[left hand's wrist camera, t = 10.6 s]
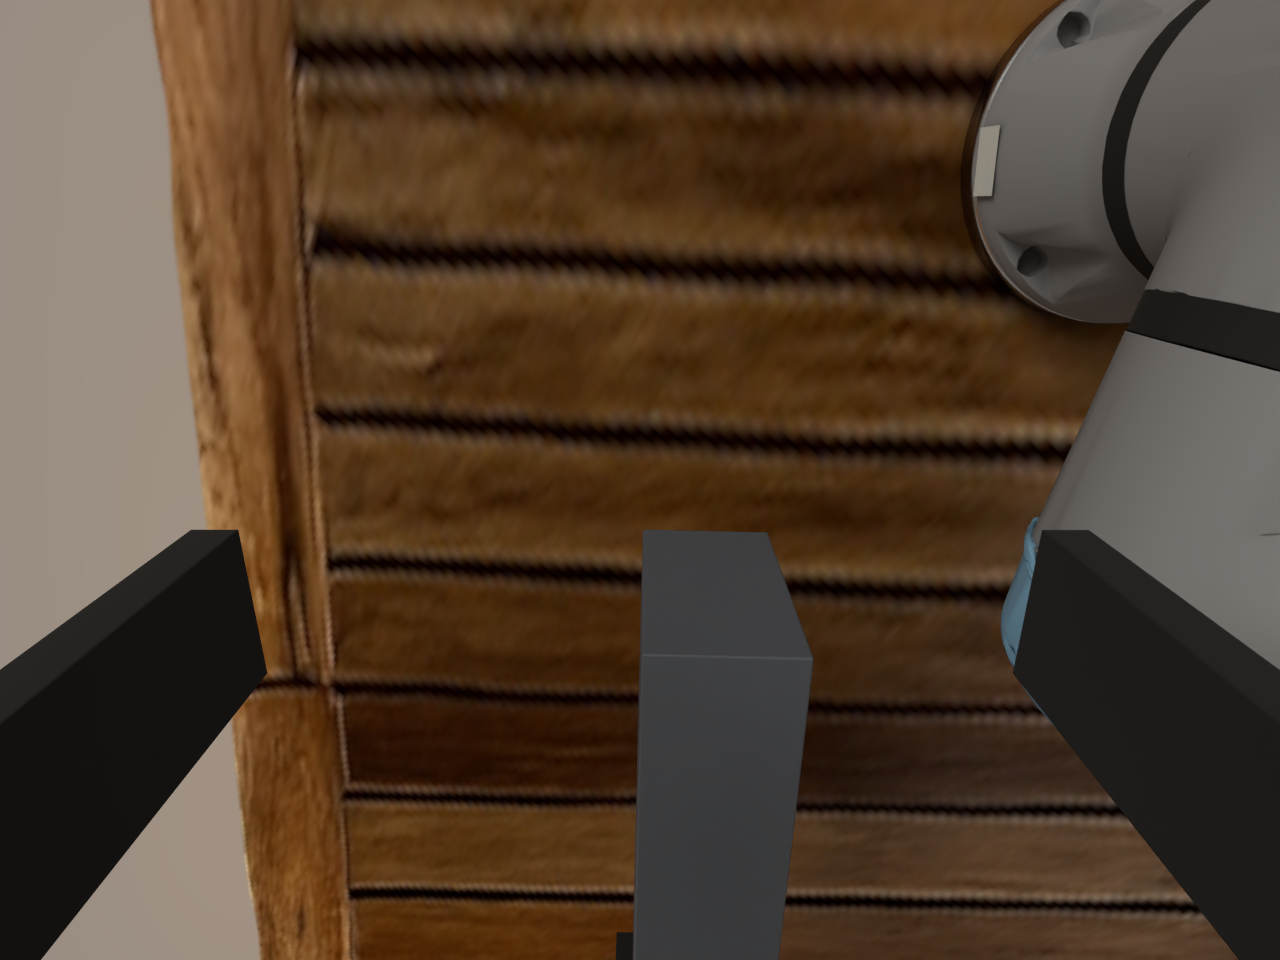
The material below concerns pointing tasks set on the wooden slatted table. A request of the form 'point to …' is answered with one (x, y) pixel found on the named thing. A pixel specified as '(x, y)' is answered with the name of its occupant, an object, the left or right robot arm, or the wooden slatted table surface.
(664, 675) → the bar
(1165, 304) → the left robot arm
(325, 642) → the wooden slatted table surface
